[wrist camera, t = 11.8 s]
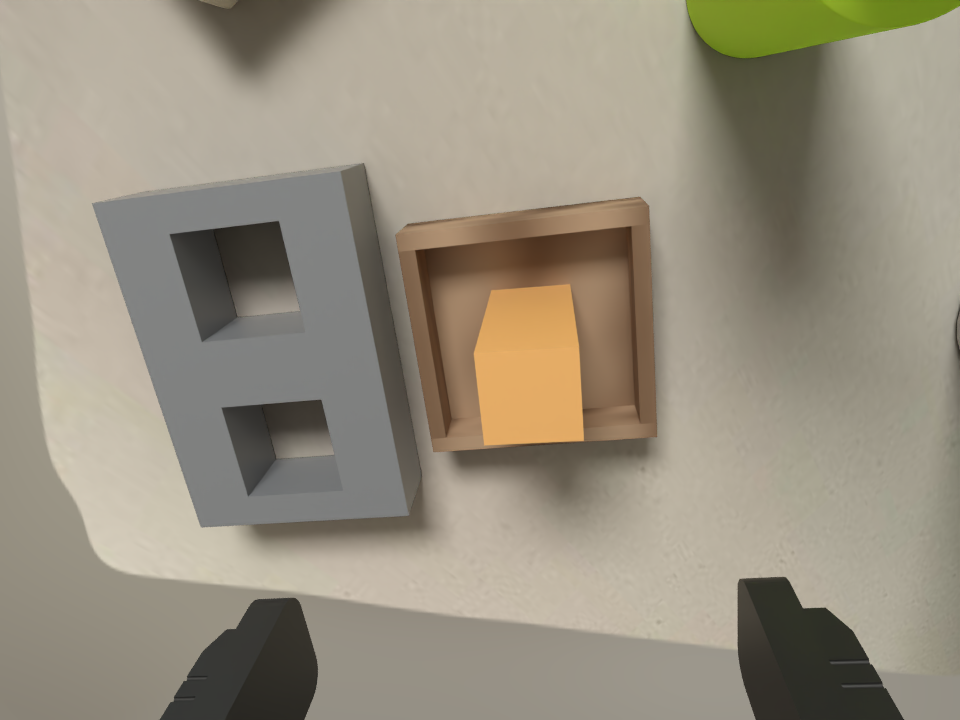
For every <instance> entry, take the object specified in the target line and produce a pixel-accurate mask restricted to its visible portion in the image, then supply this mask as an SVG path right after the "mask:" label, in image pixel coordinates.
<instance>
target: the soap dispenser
mask: <svg viewBox="0 0 960 720" xmlns="http://www.w3.org/2000/svg"><path fill="white" fill-rule="evenodd" d="M686 2H687V8H688V13H689V16H690V19H691V22H692V24H693V26H694V28H695V30H696V31H697V33H698V34H699V36H700V37H701V38H702V39H703V40H704V41H705V42H706V43H707V44H708V45H709V46H710V47H712V48H713V49H714V50H716V51H718V52H720V53H722V54H724V55H727V56H731V57H736V58H756V57H762V56H766V55H771V54H776V53H781V52H786V51H791V50H796V49H800V48H805V47H810V46H815V45H820V44H825V43H829V42H834V41H839V40H844V39H849V38H854V37H858V36H863V35H868V34H873V33H878V32H883V31H888V30H892V29H897V28H902V27H907V26H912V25H916V24H920V23H923V22H926V21H929V20H932V19H934V18H937V17H939V16H941V15H944V14H946V13H948V12H950V11H952V10H953V9H955V8H957V7H958V6H960V0H686Z"/></svg>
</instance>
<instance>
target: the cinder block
mask: <svg viewBox="0 0 960 720" xmlns="http://www.w3.org/2000/svg"><path fill="white" fill-rule="evenodd" d="M92 205H93V208H94V211H95V214H96V217H97V220H98V223H99V226H100V229H101V232H102V235H103V238H104V241H105V244H106V247H107V249H108V252H109V255H110V258H111V261H112V264H113V267H114V270H115V273H116V276H117V279H118V282H119V285H120V288H121V291H122V294H123V297H124V300H125V303H126V306H127V309H128V312H129V315H130V318H131V321H132V324H133V327H134V330H135V333H136V336H137V339H138V342H139V345H140V348H141V351H142V353H143V356H144V359H145V362H146V365H147V368H148V371H149V374H150V377H151V380H152V383H153V386H154V389H155V392H156V395H157V398H158V401H159V404H160V407H161V410H162V413H163V416H164V419H165V422H166V425H167V428H168V431H169V434H170V437H171V440H172V443H173V446H174V449H175V452H176V454H177V457H178V460H179V463H180V466H181V469H182V472H183V475H184V478H185V481H186V484H187V487H188V490H189V493H190V496H191V499H192V502H193V505H194V508H195V511H196V514H197V517H198V520H199V523H200V526H201V527H217V526H234V525H252V524H270V523H288V522H306V521H324V520H342V519H360V518H378V517H396V516H409V514H410V511H411V508H412V504H413V501H414V498H415V495H416V492H417V489H418V486H419V483H420V480H421V477H422V475H421V469H420V464H419V458H418V453H417V448H416V442H415V437H414V431H413V426H412V421H411V415H410V410H409V404H408V399H407V394H406V388H405V383H404V378H403V372H402V367H401V361H400V356H399V351H398V345H397V340H396V334H395V329H394V324H393V318H392V313H391V307H390V302H389V297H388V291H387V286H386V280H385V275H384V270H383V264H382V259H381V253H380V248H379V243H378V237H377V232H376V226H375V221H374V216H373V210H372V205H371V200H370V194H369V189H368V183H367V178H366V173H365V167H364V163H362V164H354V165H346V166H339V167H331V168H323V169H316V170H308V171H300V172H293V173H285V174H277V175H270V176H262V177H254V178H247V179H239V180H231V181H224V182H216V183H208V184H201V185H193V186H185V187H178V188H170V189H162V190H155V191H147V192H140V193H136V194H131V195H127V196H123V197H118V198H114V199H109V200H105V201H100V202H96V203H92ZM274 221H279V223H280V227H281V232H282V236H283V240H284V244H285V248H286V253H287V257H288V261H289V265H290V269H291V274H292V278H293V282H294V286H295V290H296V295H297V299H298V303H299V307H300V311H297V312H287V313H277V314H267V315H257V316H247V317H238V318H237V315H236V312H235V308H234V304H233V301H232V297H231V294H230V290H229V286H228V283H227V279H226V275H225V272H224V268H223V264H222V261H221V257H220V254H219V250H218V246H217V243H216V239H215V235H214V232H213V229H216V228H224V227H232V226H241V225H249V224H257V223H265V222H274ZM309 400H322V404H323V408H324V413H325V417H326V421H327V425H328V429H329V434H330V438H331V442H332V446H333V450H334V455H331V456H317V457H302V458H288V459H276V457H275V454H274V450H273V446H272V443H271V439H270V435H269V432H268V428H267V424H266V421H265V417H264V414H263V410H262V406H261V404H272V403H284V402H297V401H309Z"/></svg>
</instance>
